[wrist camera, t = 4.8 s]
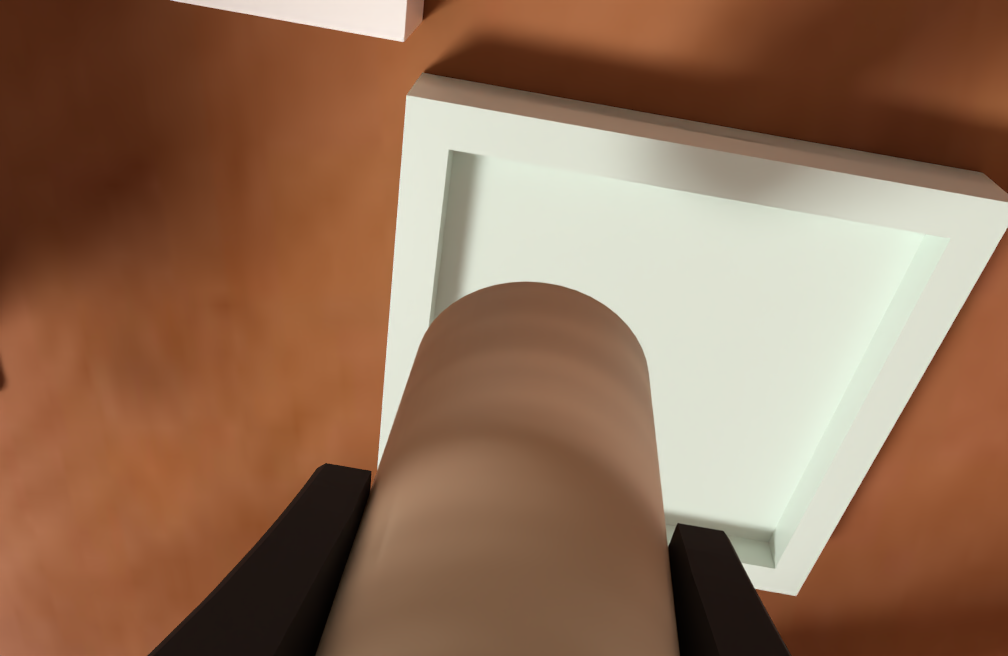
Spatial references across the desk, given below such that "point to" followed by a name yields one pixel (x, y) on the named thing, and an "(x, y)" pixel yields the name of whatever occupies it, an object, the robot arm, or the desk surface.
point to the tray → (702, 285)
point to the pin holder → (335, 14)
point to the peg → (515, 493)
